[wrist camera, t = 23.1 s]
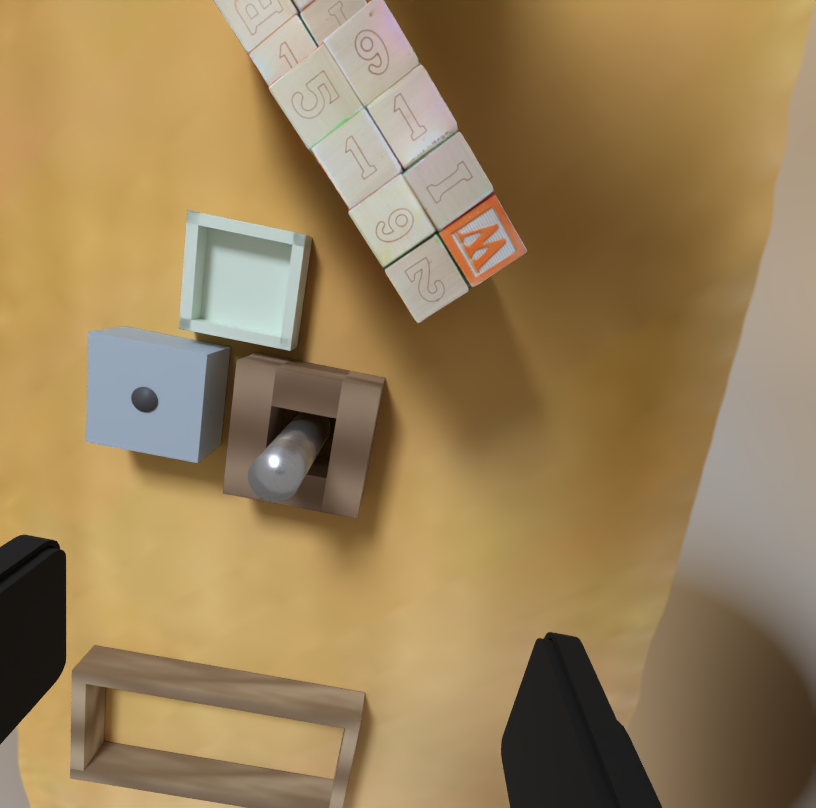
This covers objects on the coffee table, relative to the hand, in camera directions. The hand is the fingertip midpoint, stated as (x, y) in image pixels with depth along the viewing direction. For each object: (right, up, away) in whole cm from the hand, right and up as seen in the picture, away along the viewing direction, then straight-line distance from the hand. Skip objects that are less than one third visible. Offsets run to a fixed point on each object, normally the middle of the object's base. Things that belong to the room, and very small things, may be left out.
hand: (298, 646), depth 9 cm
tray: (-9, +14, +24) cm, 29 cm away
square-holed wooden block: (-5, +3, +27) cm, 28 cm away
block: (-16, +6, +26) cm, 32 cm away
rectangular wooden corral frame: (-15, -26, +34) cm, 46 cm away
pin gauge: (-6, +3, +27) cm, 28 cm away
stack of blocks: (0, +22, +23) cm, 31 cm away
